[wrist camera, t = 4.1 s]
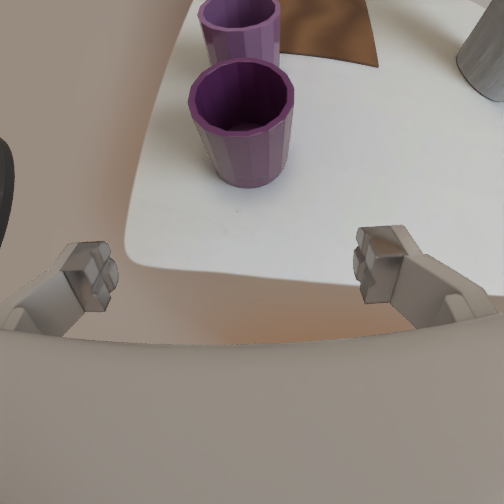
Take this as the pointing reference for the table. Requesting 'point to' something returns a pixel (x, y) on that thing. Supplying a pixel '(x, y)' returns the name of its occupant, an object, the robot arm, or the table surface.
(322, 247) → the table surface
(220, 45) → the mauve cup
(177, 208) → the table surface
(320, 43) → the placemat
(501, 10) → the vase
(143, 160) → the table surface
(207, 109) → the plum cup
